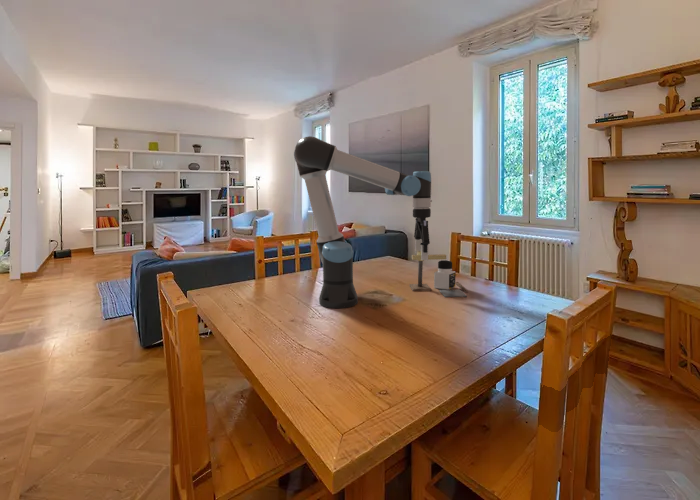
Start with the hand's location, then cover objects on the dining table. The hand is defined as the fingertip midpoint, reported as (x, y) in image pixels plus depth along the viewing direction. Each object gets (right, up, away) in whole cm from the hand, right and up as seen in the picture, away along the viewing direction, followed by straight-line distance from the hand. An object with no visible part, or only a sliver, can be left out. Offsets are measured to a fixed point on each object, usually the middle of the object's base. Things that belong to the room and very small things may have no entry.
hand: (421, 256), depth 166 cm
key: (+3, -1, 0) cm, 4 cm away
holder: (+7, -14, +3) cm, 16 cm away
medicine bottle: (+11, -14, +3) cm, 18 cm away
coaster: (+12, -15, -6) cm, 20 cm away
